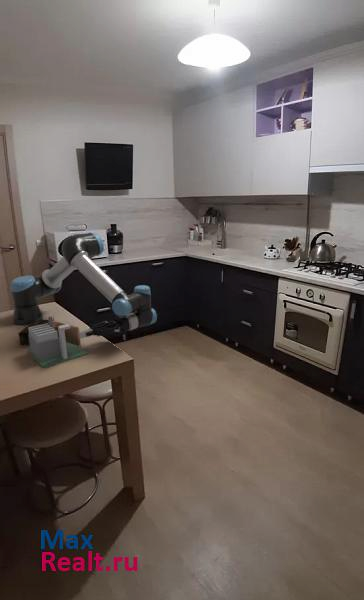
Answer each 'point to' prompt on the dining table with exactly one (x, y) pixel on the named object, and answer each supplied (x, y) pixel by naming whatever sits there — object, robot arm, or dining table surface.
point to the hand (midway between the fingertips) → (77, 335)
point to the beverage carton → (24, 333)
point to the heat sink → (52, 345)
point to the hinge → (67, 332)
